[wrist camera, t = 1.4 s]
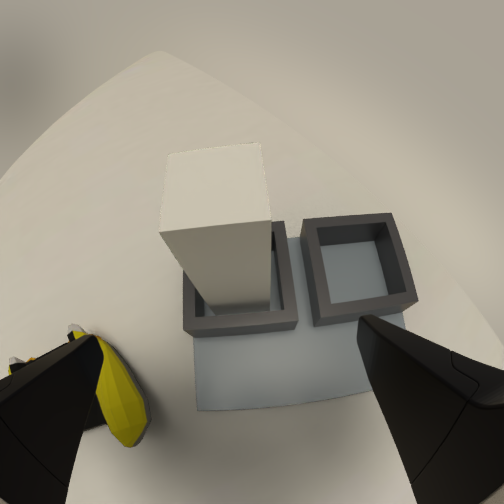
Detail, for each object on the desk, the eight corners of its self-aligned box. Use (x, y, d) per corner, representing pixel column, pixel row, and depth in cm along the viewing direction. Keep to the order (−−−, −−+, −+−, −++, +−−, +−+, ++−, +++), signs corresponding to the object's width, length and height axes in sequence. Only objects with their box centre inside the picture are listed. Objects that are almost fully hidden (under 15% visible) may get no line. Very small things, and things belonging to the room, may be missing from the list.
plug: (269, 310, 21) (271, 219, 10) (215, 315, 21) (158, 232, 10) (264, 257, 22) (259, 138, 12) (213, 262, 22) (169, 149, 12)
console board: (408, 379, 18) (433, 375, 15) (200, 409, 18) (185, 414, 15) (376, 235, 24) (391, 210, 20) (195, 253, 24) (183, 228, 20)
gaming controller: (176, 430, 18) (126, 319, 22) (148, 442, 13) (92, 298, 17) (51, 466, 15) (19, 374, 19) (13, 473, 10) (-19, 364, 14)
